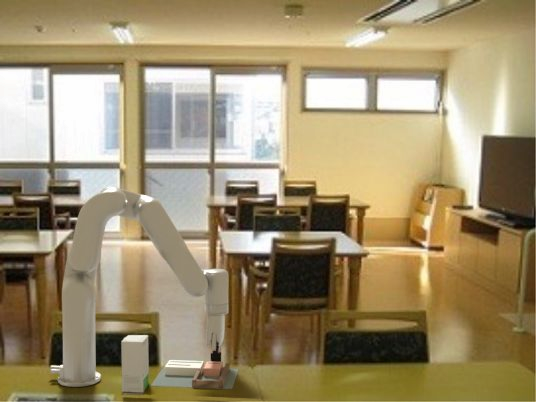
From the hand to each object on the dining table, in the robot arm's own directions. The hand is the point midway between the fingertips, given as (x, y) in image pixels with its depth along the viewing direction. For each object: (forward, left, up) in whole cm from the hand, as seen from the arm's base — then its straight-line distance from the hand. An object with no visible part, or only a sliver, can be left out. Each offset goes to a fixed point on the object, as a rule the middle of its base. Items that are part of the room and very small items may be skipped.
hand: (215, 364), depth 222 cm
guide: (0, -11, -1) cm, 11 cm away
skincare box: (-21, -21, -2) cm, 30 cm away
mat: (-4, -11, -2) cm, 12 cm away
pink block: (0, -6, -1) cm, 6 cm away
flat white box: (-9, -6, -1) cm, 11 cm away
